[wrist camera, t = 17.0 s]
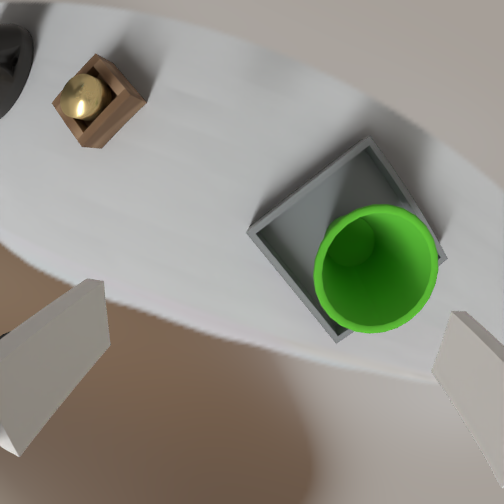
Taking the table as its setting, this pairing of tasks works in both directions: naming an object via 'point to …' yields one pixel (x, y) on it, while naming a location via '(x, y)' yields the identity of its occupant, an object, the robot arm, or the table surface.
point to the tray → (328, 219)
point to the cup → (375, 268)
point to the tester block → (114, 114)
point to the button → (85, 97)
